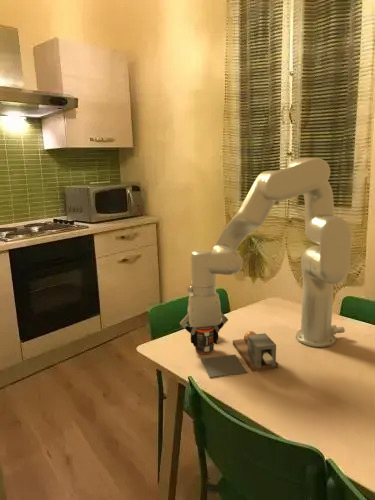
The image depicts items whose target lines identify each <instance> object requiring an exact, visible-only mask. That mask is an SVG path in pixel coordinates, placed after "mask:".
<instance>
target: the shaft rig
mask: <svg viewBox="0 0 375 500" xmlns="http://www.w3.org/2000/svg"><path fill="white" fill-rule="evenodd" d="M232 345H233V347H234V349H235V350H236V352H237V353H238V354H239V355H240V357H241V358H242V360H243V362H245V364H246V366H247V367H248V369H249V370H250V371H251V373H254V372H262V371H270V370H277V369H279V363H278V362H277V344H276V343H275V342H274V340H272V339H271V337H270V336H268V335H267V333H266V332H264V333H258V334H257V333H256V334H255V335H248V345H247V344H246V343H245V341H244V338H242V339H241V338H240V339H233V340H232ZM261 350H266V351H267V352H268V353H269V354H270V355H271V357H272V358H273V363H272V364H270V365H267V364H266V363H265V362H264V360H263V359H262V358H261Z"/></svg>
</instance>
